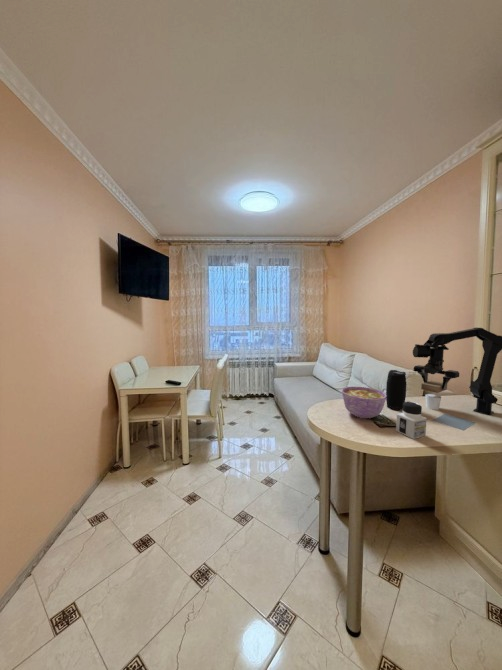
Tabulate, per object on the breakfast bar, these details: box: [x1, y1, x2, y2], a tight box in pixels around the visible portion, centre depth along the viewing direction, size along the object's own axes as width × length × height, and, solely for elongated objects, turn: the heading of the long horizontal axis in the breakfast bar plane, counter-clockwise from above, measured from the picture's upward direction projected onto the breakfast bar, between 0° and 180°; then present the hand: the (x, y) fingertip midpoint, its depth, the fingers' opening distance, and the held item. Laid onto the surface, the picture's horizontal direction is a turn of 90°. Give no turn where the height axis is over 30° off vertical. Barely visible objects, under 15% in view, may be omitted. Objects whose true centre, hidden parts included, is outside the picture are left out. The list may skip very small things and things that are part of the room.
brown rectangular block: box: [421, 380, 448, 394], centre depth 132 cm, size 11×7×3 cm
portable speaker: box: [385, 369, 407, 411], centre depth 133 cm, size 9×9×20 cm
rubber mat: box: [431, 413, 477, 431], centre depth 116 cm, size 15×12×1 cm
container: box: [395, 401, 428, 440], centre depth 104 cm, size 8×8×13 cm
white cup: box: [424, 393, 442, 411], centre depth 133 cm, size 7×7×7 cm
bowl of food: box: [341, 386, 387, 419], centre depth 123 cm, size 20×20×12 cm
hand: (434, 387), depth 132 cm, fingers closed on brown rectangular block, 7 cm apart
